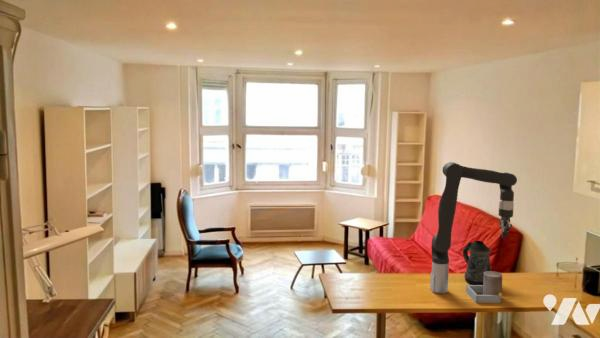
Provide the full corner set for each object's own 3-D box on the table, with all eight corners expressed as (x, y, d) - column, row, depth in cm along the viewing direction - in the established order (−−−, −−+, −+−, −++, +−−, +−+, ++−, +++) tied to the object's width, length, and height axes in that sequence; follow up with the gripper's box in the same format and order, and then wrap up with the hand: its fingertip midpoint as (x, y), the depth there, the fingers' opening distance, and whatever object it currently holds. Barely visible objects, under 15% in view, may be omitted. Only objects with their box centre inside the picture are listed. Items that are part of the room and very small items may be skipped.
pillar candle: (502, 296, 249) (503, 270, 248) (500, 302, 241) (501, 275, 239) (484, 293, 254) (485, 267, 253) (481, 298, 246) (481, 272, 245)
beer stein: (490, 288, 260) (492, 247, 258) (456, 282, 271) (458, 242, 268) (495, 280, 274) (497, 241, 271) (463, 274, 285) (464, 236, 282)
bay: (475, 302, 240) (476, 293, 240) (465, 291, 256) (466, 283, 255) (501, 302, 240) (501, 293, 239) (489, 292, 255) (490, 283, 255)
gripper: (494, 205, 257) (493, 234, 259) (504, 210, 244) (502, 240, 246) (508, 205, 257) (506, 235, 259) (518, 210, 244) (516, 241, 245)
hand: (504, 237), depth 252 cm, fingers closed
